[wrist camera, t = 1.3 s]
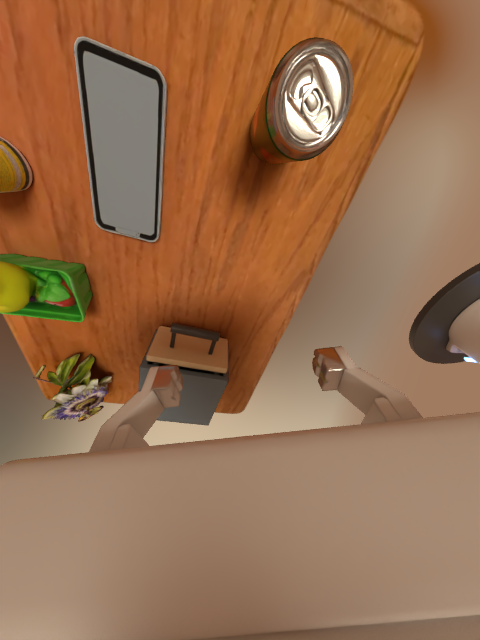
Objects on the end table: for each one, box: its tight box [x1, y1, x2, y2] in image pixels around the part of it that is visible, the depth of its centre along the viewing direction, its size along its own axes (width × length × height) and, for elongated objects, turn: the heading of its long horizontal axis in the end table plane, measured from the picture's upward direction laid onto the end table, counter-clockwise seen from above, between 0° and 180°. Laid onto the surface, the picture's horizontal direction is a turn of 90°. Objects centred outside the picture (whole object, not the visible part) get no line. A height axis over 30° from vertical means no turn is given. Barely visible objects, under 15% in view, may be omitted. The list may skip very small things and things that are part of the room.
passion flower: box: [33, 354, 112, 422], centre depth 38 cm, size 11×11×12 cm
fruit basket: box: [0, 254, 93, 322], centre depth 24 cm, size 11×9×11 cm
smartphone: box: [74, 36, 167, 242], centre depth 21 cm, size 7×1×15 cm
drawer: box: [146, 323, 228, 375], centre depth 35 cm, size 18×12×7 cm, turn 162°
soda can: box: [250, 37, 353, 164], centre depth 16 cm, size 5×5×12 cm
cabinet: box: [139, 329, 228, 425], centre depth 37 cm, size 15×13×9 cm
